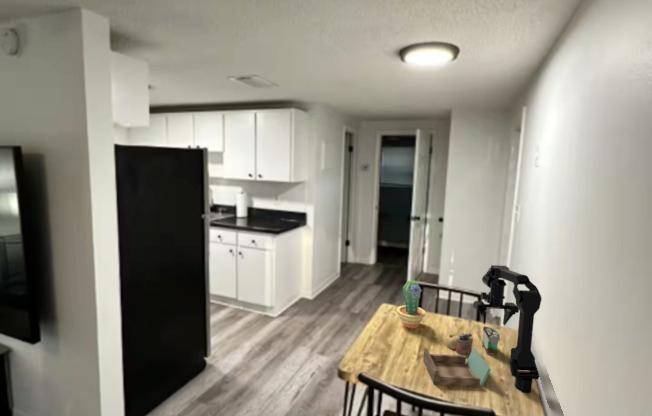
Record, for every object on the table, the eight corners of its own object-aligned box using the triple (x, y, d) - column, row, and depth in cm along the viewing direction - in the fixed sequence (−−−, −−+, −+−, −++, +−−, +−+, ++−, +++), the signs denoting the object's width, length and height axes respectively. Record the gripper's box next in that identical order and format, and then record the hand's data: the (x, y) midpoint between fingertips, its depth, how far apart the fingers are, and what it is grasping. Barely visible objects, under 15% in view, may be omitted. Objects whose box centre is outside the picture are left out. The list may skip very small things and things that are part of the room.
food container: (501, 359, 164) (503, 339, 163) (487, 358, 165) (489, 337, 164) (494, 346, 176) (496, 327, 175) (481, 345, 177) (483, 325, 176)
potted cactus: (393, 327, 193) (395, 282, 190) (399, 316, 207) (401, 274, 204) (422, 333, 187) (425, 287, 184) (426, 322, 201) (429, 278, 198)
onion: (454, 343, 178) (455, 329, 177) (466, 351, 171) (467, 337, 170) (441, 345, 175) (442, 332, 174) (452, 354, 168) (453, 339, 167)
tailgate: (480, 384, 142) (488, 368, 141) (466, 362, 158) (473, 347, 157) (482, 385, 142) (491, 369, 141) (468, 363, 158) (475, 348, 157)
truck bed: (433, 387, 142) (434, 370, 141) (423, 363, 159) (424, 348, 158) (479, 389, 142) (481, 372, 141) (464, 365, 159) (465, 350, 158)
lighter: (458, 357, 165) (460, 336, 164) (453, 353, 169) (455, 333, 167) (473, 355, 167) (475, 334, 166) (468, 351, 171) (470, 331, 169)
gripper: (509, 287, 173) (506, 318, 175) (470, 285, 174) (467, 316, 176) (520, 295, 162) (517, 328, 164) (479, 293, 163) (476, 326, 165)
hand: (494, 324), depth 167 cm, fingers open, 9 cm apart
